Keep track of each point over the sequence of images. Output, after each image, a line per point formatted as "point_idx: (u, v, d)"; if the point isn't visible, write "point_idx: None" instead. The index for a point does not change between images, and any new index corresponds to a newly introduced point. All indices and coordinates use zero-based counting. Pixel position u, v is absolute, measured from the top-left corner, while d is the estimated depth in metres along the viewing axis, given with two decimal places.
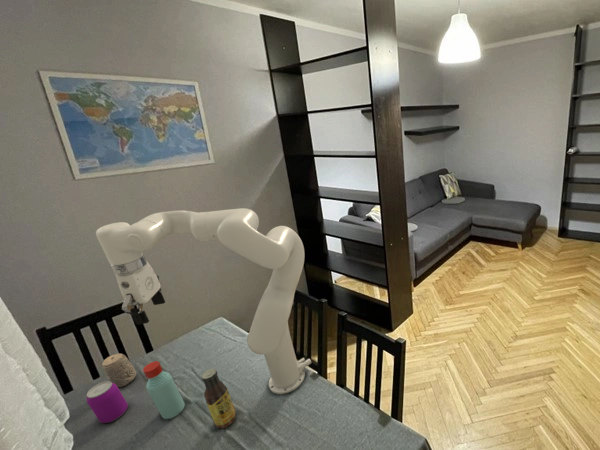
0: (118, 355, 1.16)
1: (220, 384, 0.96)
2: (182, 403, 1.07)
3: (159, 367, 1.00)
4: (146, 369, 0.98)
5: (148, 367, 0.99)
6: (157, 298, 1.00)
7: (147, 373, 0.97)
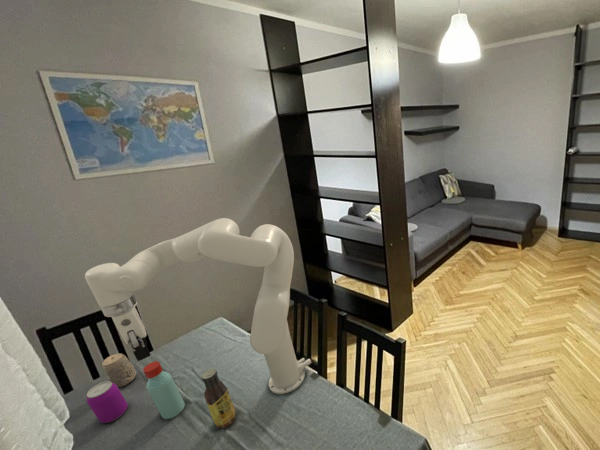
0: (118, 355, 1.16)
1: (220, 384, 0.96)
2: (182, 403, 1.07)
3: (159, 367, 1.00)
4: (146, 369, 0.98)
5: (148, 367, 0.99)
6: (140, 341, 0.98)
7: (147, 373, 0.97)
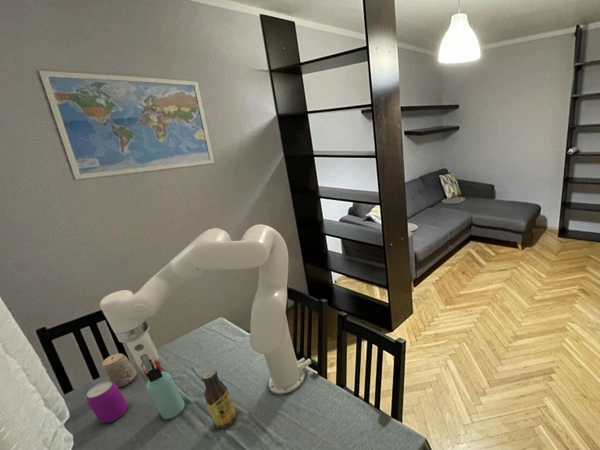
0: (118, 355, 1.16)
1: (220, 384, 0.96)
2: (182, 403, 1.07)
3: (159, 367, 1.00)
4: None
5: None
6: None
7: None
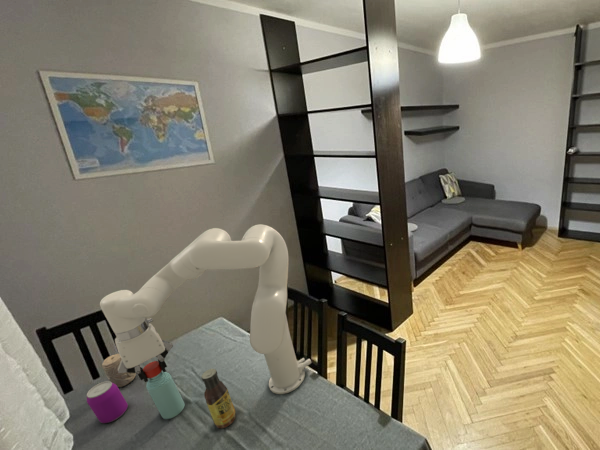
0: (118, 355, 1.16)
1: (220, 384, 0.96)
2: (182, 403, 1.07)
3: None
4: (153, 367, 0.98)
5: (150, 367, 0.98)
6: None
7: (158, 366, 0.99)
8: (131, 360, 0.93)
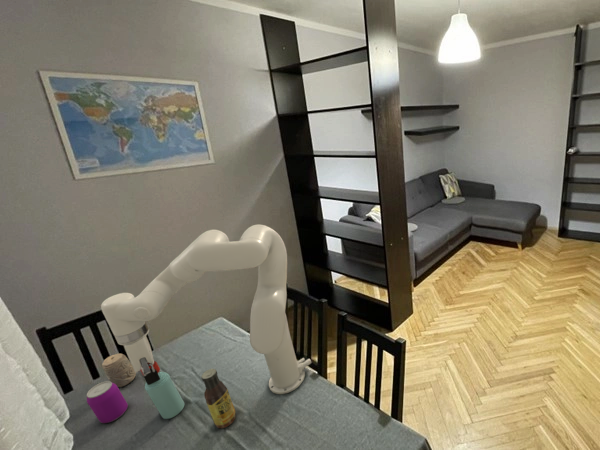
0: (118, 355, 1.16)
1: (220, 384, 0.96)
2: (182, 403, 1.07)
3: None
4: None
5: None
6: None
7: None
8: (152, 355, 0.96)
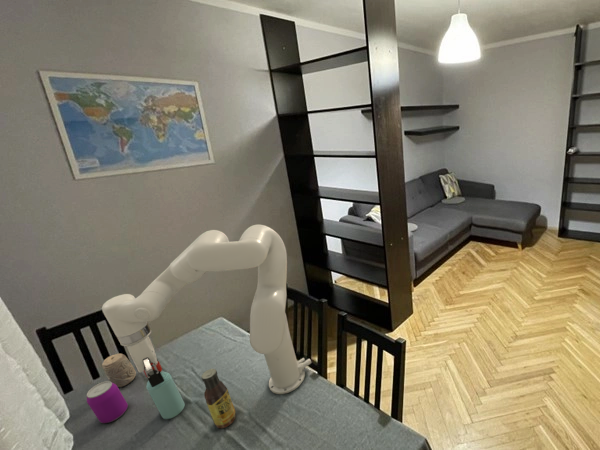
0: (118, 355, 1.16)
1: (220, 384, 0.96)
2: (182, 403, 1.07)
3: None
4: None
5: None
6: None
7: None
8: (155, 355, 0.96)
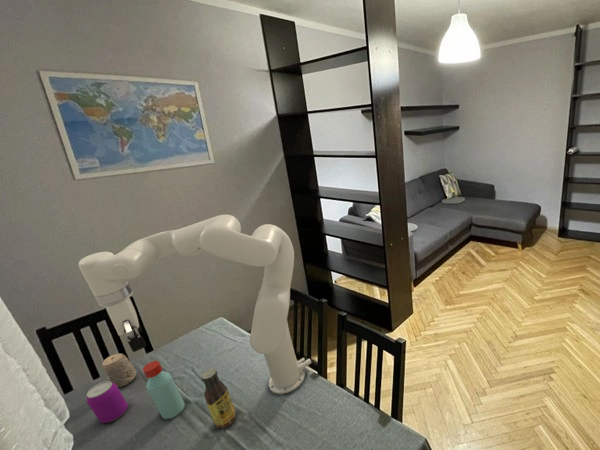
0: (118, 355, 1.16)
1: (220, 384, 0.96)
2: (182, 403, 1.07)
3: None
4: (155, 363, 1.00)
5: (153, 365, 0.99)
6: None
7: None
8: (136, 318, 0.91)
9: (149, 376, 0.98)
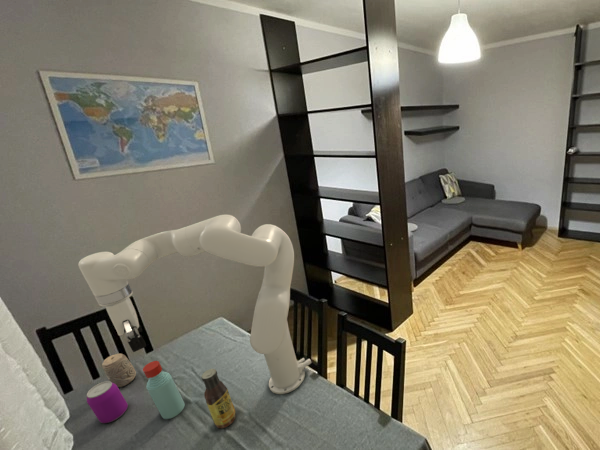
0: (118, 355, 1.16)
1: (220, 384, 0.96)
2: (182, 403, 1.07)
3: None
4: (155, 363, 1.00)
5: (153, 365, 0.99)
6: None
7: None
8: (136, 318, 0.91)
9: (149, 376, 0.98)
